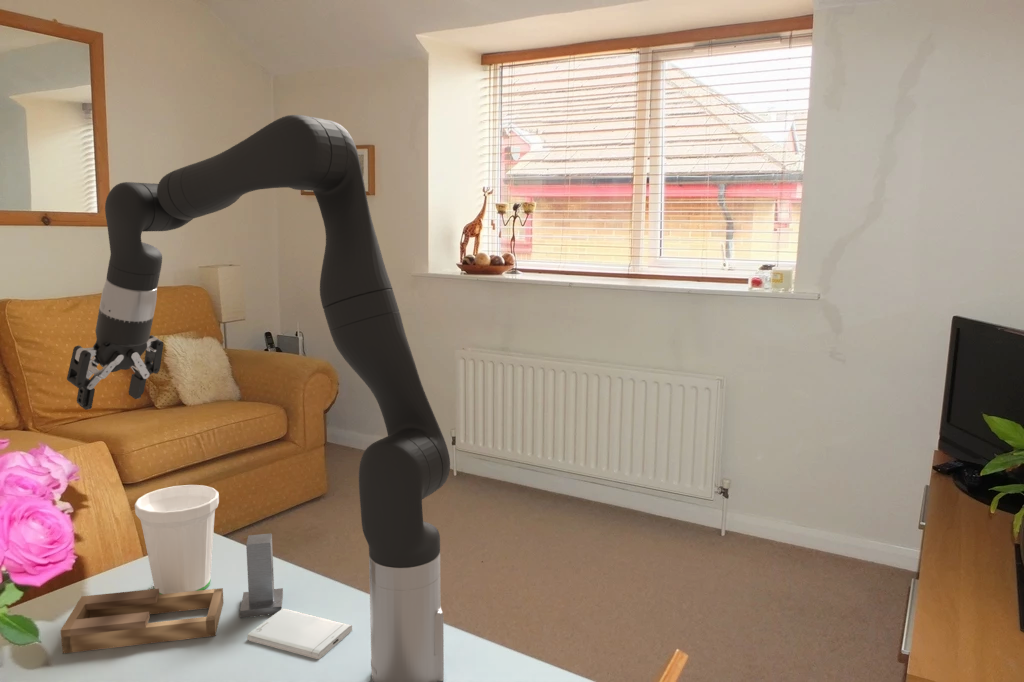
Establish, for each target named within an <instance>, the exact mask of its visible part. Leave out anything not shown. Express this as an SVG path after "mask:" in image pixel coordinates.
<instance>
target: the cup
mask: <svg viewBox="0 0 1024 682" xmlns="http://www.w3.org/2000/svg"><path fill="white" fill-rule="evenodd" d="M219 493H220V492H219V491H218V490H217V489H215V488H214V487H212V486H207V485H203V484H200V485H199V484H185V485H172V486H169V487H164V488H158V489H156V490H153V491H150V492H148V493H145V494H143V495H142V496H140V497H139V498H137V499H136V502H135V503H134V511H135V512H134V513H135V515H136V516H137V518H138V519H139V520H140V524H141V529H142V534H143V537H144V543H145V547H146V552H147V556H148V562H149V567H150V568H149V569H150V573H151V578H152V582H153V589H159V594H170V593H180V592H190V591H199V590H207V588H208V587H209V586H210V584H211V575H212V561H213V559H212V558H213V557H212V556H213V547H214V546H213V545H214V530H215V529H214V528H215V515H216V514H215V513H216V509H217V508H218V507H219V503H220V495H219Z"/></svg>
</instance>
